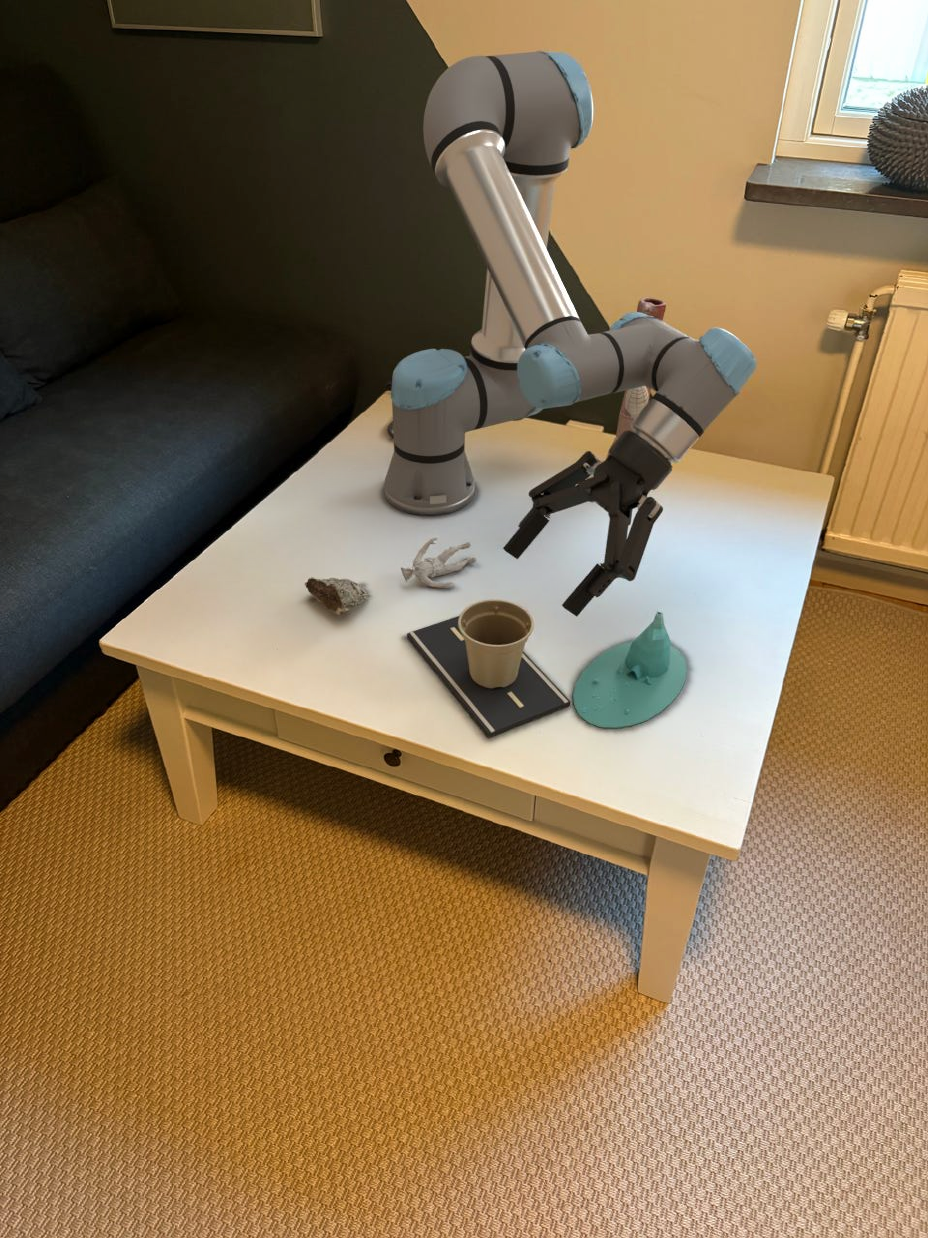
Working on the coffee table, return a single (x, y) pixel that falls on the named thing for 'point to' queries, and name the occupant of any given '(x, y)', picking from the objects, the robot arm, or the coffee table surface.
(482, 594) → the coffee table surface
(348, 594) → the rock sample
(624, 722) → the diorama
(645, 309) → the vase
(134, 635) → the coffee table surface
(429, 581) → the soldier figure
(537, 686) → the road
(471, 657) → the flower pot
